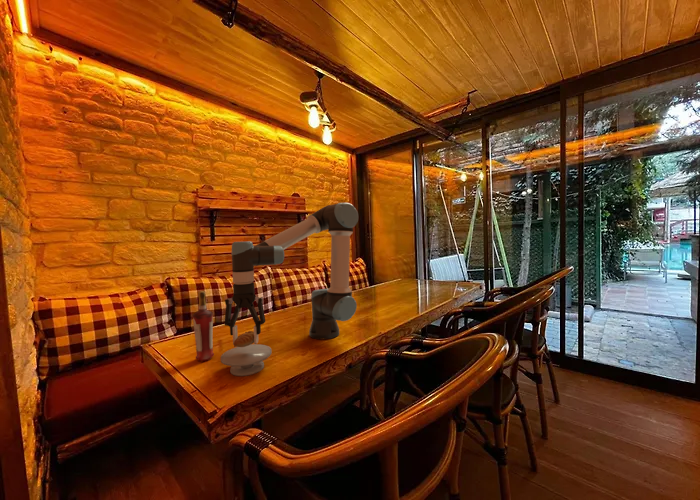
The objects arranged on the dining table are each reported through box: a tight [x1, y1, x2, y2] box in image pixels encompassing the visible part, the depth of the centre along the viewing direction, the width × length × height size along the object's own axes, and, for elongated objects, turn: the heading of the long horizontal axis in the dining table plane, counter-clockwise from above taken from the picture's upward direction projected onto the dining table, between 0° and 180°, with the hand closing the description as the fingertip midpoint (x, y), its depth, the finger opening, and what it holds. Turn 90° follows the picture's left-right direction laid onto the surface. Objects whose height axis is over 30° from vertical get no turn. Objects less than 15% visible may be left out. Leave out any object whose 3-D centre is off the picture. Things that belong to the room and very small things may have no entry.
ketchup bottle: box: [192, 291, 215, 362], centre depth 119 cm, size 7×7×28 cm
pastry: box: [232, 330, 254, 348], centre depth 108 cm, size 9×7×4 cm
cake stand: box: [220, 343, 272, 377], centre depth 109 cm, size 18×18×6 cm
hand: (246, 343), depth 109 cm, fingers closed on pastry, 7 cm apart
